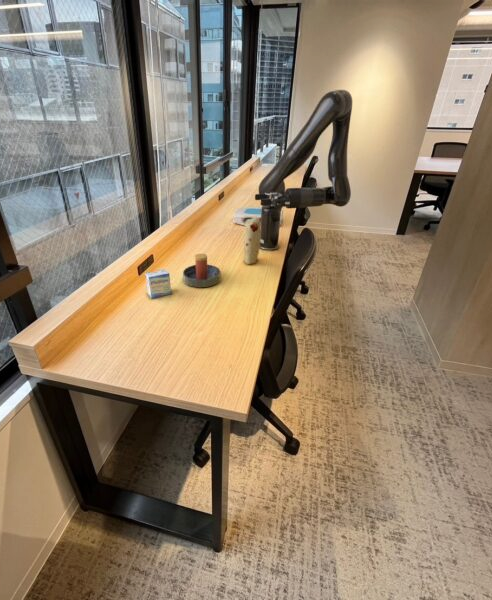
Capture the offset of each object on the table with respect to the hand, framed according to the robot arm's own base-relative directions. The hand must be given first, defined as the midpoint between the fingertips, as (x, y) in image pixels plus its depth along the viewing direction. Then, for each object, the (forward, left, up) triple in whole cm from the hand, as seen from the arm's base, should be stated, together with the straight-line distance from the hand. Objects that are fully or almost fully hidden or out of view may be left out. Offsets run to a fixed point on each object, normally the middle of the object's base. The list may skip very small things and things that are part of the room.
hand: (257, 199), depth 125 cm
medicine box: (+13, -40, -30) cm, 52 cm away
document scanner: (-69, +20, -30) cm, 78 cm away
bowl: (+4, -23, -30) cm, 38 cm away
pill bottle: (+4, -23, -30) cm, 38 cm away
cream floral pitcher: (-10, +1, -30) cm, 32 cm away
